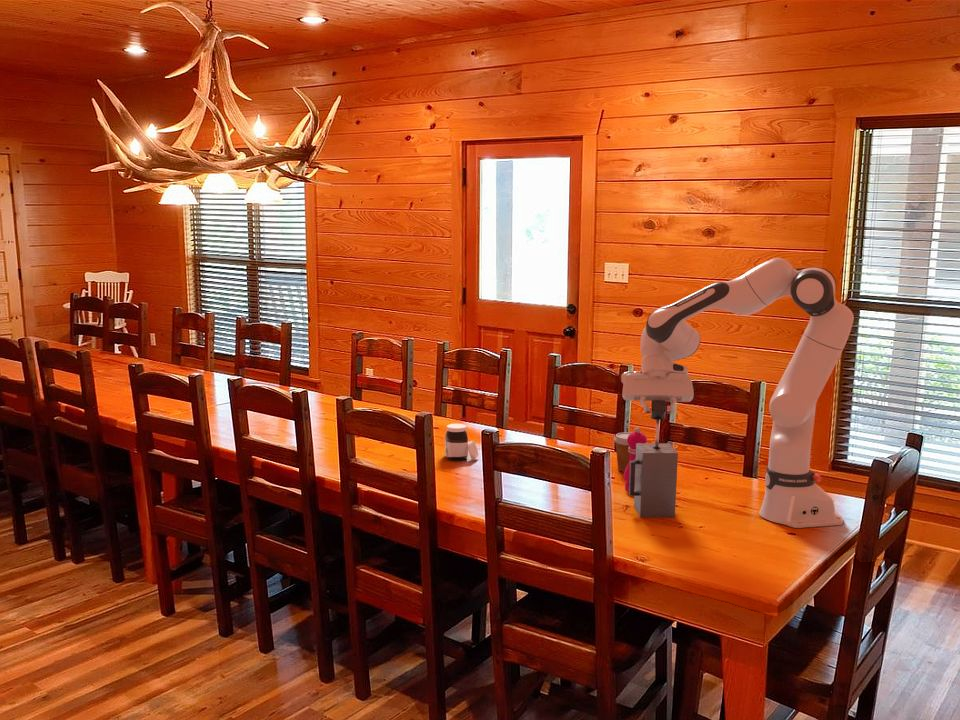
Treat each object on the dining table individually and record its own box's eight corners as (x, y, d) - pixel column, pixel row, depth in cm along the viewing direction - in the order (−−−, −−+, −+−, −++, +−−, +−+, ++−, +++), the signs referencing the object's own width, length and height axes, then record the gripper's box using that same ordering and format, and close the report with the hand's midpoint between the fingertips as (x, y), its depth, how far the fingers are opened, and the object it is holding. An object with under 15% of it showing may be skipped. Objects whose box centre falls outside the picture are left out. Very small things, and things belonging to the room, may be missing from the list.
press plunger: (666, 454, 257) (669, 398, 254) (672, 462, 249) (675, 404, 246) (640, 454, 257) (642, 398, 254) (645, 462, 249) (647, 404, 246)
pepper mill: (646, 493, 271) (649, 431, 268) (622, 492, 272) (625, 429, 269) (646, 486, 278) (649, 425, 275) (623, 484, 279) (626, 424, 276)
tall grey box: (667, 505, 261) (670, 443, 257) (674, 517, 251) (677, 453, 247) (625, 505, 260) (628, 443, 257) (631, 517, 251) (634, 452, 247)
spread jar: (442, 454, 312) (442, 423, 310) (473, 452, 315) (473, 421, 313) (449, 464, 300) (449, 431, 298) (481, 462, 303) (482, 429, 301)
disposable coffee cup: (643, 474, 290) (645, 439, 288) (615, 474, 290) (616, 439, 288) (639, 466, 300) (640, 432, 297) (611, 465, 300) (612, 431, 298)
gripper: (621, 365, 256) (622, 405, 248) (692, 366, 254) (695, 407, 246) (620, 377, 261) (621, 416, 253) (690, 378, 259) (693, 418, 251)
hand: (658, 412), depth 250 cm, fingers open, 5 cm apart
